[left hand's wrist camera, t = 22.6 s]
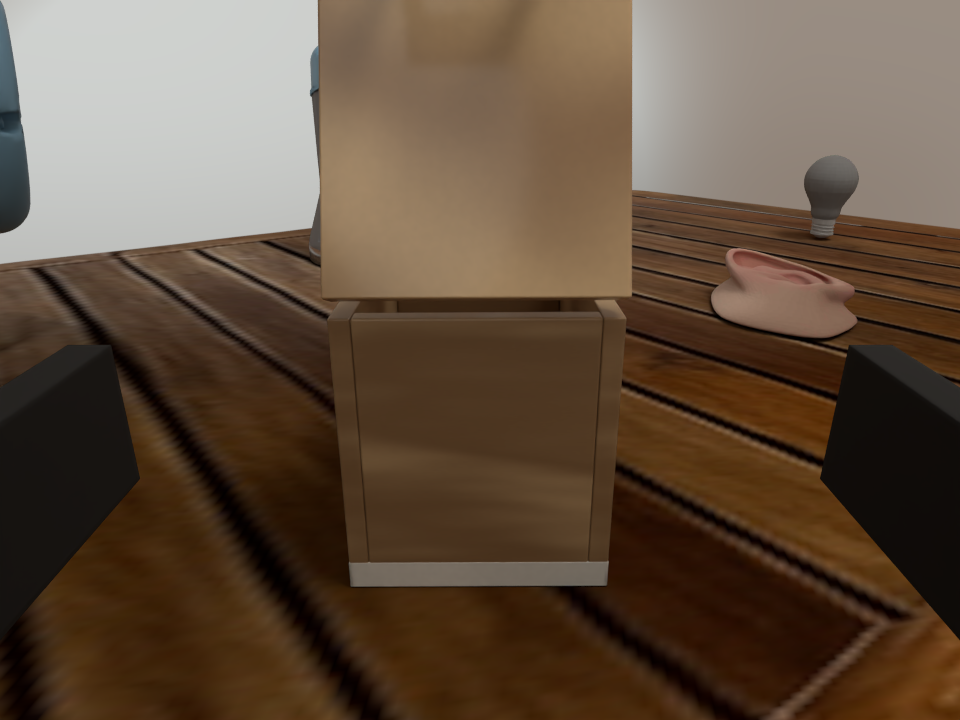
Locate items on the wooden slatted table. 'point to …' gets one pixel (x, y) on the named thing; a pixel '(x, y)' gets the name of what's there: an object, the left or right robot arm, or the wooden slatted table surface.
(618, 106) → the lid
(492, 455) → the chest
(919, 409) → the left robot arm
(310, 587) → the wooden slatted table surface
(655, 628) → the wooden slatted table surface
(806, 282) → the anatomical model
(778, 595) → the wooden slatted table surface
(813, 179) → the light bulb
